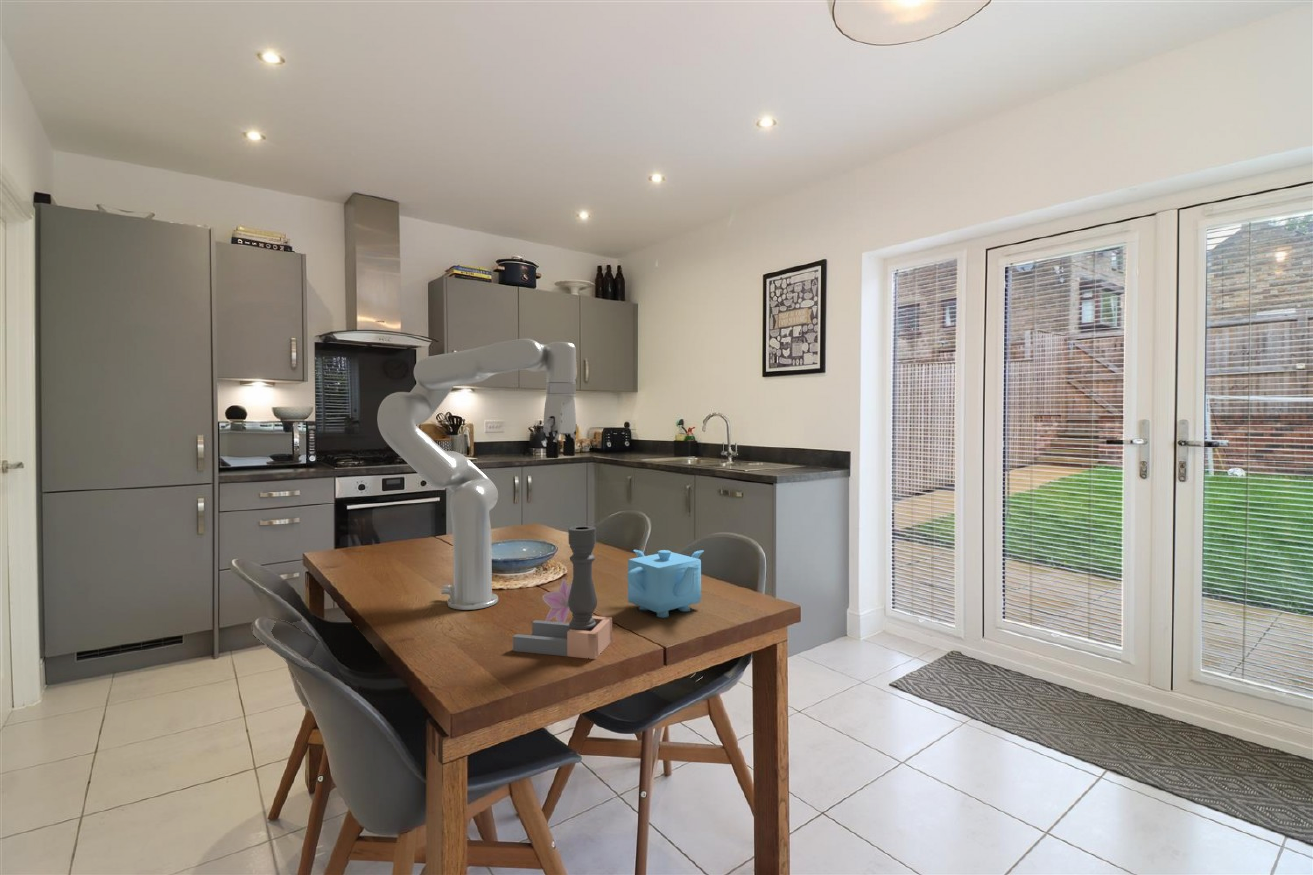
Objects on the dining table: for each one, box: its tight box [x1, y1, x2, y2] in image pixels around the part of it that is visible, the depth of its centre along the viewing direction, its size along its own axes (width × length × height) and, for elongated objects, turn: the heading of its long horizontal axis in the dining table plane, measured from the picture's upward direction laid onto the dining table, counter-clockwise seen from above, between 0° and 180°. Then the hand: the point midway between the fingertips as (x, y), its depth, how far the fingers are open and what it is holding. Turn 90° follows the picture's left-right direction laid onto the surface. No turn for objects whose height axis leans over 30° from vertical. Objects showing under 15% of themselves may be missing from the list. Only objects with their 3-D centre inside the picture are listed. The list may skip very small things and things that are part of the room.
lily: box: [541, 577, 572, 623], centre depth 145 cm, size 12×12×10 cm
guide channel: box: [512, 615, 613, 660], centre depth 129 cm, size 18×10×5 cm, turn 76°
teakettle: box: [626, 549, 705, 619], centre depth 154 cm, size 19×19×15 cm
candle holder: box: [567, 525, 598, 631], centre depth 128 cm, size 6×6×25 cm
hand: (560, 456), depth 158 cm, fingers open, 9 cm apart
